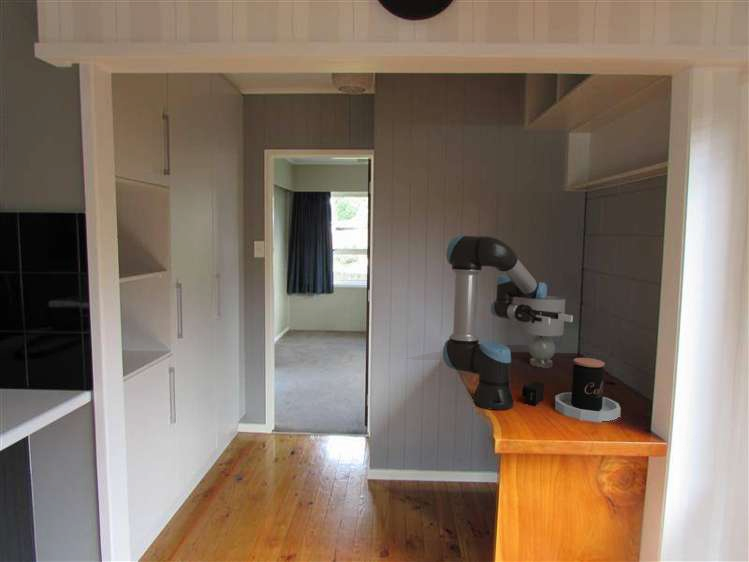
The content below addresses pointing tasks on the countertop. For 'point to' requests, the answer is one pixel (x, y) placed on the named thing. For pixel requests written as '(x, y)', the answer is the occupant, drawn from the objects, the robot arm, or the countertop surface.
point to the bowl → (605, 414)
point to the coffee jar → (587, 384)
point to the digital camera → (533, 393)
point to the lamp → (544, 330)
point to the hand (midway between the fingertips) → (561, 319)
